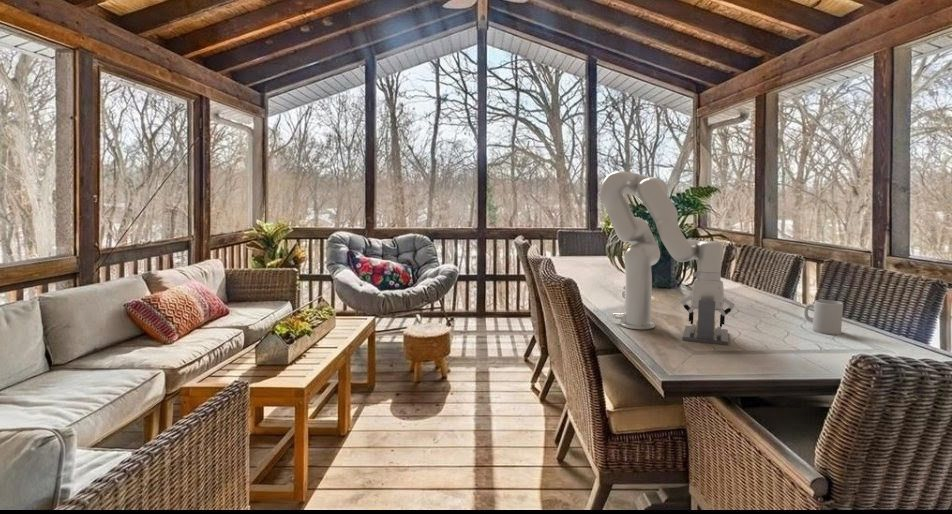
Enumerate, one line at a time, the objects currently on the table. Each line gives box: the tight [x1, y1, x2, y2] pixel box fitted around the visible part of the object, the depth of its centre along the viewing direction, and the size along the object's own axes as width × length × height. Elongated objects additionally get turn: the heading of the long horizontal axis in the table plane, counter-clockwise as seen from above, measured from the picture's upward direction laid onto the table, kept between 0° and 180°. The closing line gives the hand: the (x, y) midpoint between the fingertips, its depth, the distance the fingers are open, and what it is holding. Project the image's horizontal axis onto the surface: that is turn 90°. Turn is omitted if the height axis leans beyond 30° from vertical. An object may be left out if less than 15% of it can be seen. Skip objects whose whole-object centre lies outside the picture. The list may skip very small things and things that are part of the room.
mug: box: [803, 299, 844, 336], centre depth 182 cm, size 12×8×11 cm
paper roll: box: [695, 317, 716, 332], centre depth 175 cm, size 12×6×6 cm, turn 154°
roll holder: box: [682, 300, 729, 346], centre depth 174 cm, size 14×17×14 cm
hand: (706, 324), depth 175 cm, fingers open, 9 cm apart
